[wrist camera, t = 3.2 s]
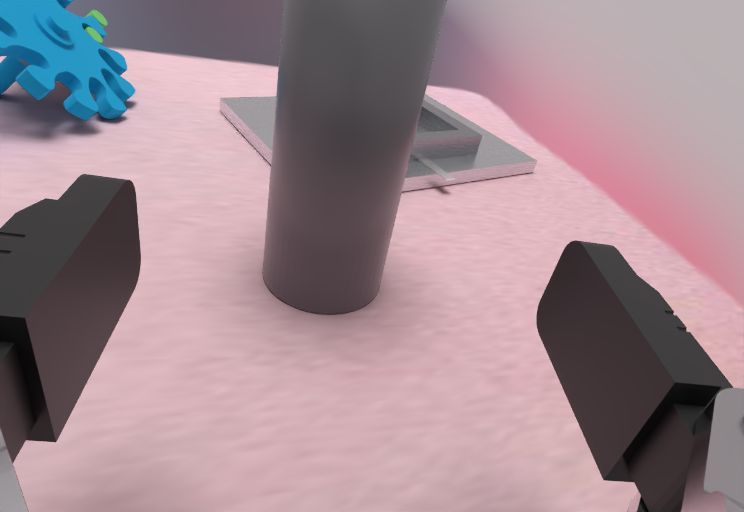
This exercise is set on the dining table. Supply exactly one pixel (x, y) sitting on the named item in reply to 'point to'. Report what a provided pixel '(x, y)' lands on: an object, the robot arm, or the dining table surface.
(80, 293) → the robot arm
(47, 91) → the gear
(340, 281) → the grey peg
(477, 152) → the grey peg base plate
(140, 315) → the dining table surface
